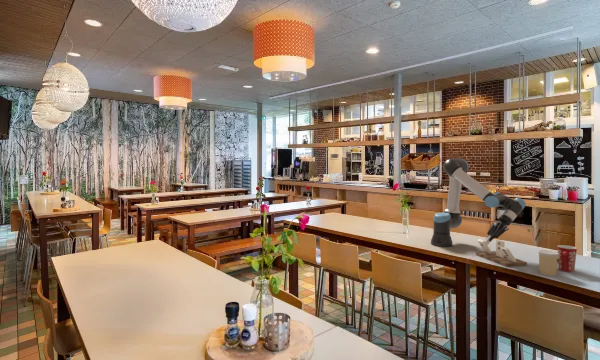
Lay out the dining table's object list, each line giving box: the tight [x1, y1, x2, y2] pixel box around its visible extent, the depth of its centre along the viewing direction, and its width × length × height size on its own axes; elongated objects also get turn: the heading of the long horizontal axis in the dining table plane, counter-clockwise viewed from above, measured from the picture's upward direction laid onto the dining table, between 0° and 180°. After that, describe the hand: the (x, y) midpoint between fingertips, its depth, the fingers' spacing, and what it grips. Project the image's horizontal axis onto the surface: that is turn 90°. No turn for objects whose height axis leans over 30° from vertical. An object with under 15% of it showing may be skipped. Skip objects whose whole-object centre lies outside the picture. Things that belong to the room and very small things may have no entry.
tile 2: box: [495, 239, 505, 258], centre depth 217 cm, size 5×2×10 cm, turn 11°
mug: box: [556, 244, 578, 273], centre depth 195 cm, size 13×9×14 cm
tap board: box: [475, 250, 528, 268], centre depth 217 cm, size 26×14×2 cm, turn 11°
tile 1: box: [476, 238, 492, 253], centre depth 226 cm, size 5×2×10 cm
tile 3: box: [500, 246, 517, 262], centre depth 206 cm, size 5×2×10 cm
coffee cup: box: [538, 249, 559, 277], centre depth 191 cm, size 9×9×12 cm
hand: (485, 244), depth 226 cm, fingers closed
